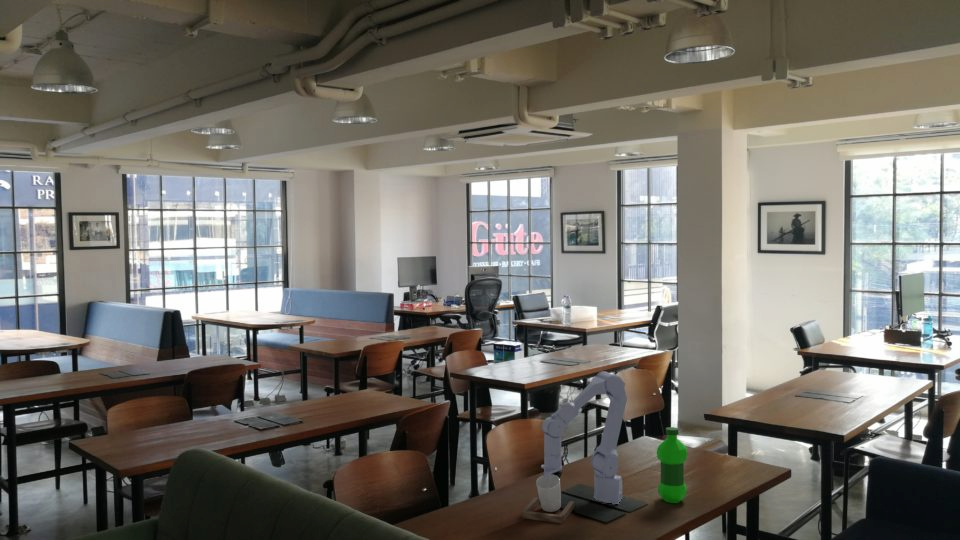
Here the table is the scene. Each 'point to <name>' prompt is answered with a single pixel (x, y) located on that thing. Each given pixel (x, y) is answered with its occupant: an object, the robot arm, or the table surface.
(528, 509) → the walnut bay
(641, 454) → the table surface
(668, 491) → the plastic bottle
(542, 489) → the white cup
